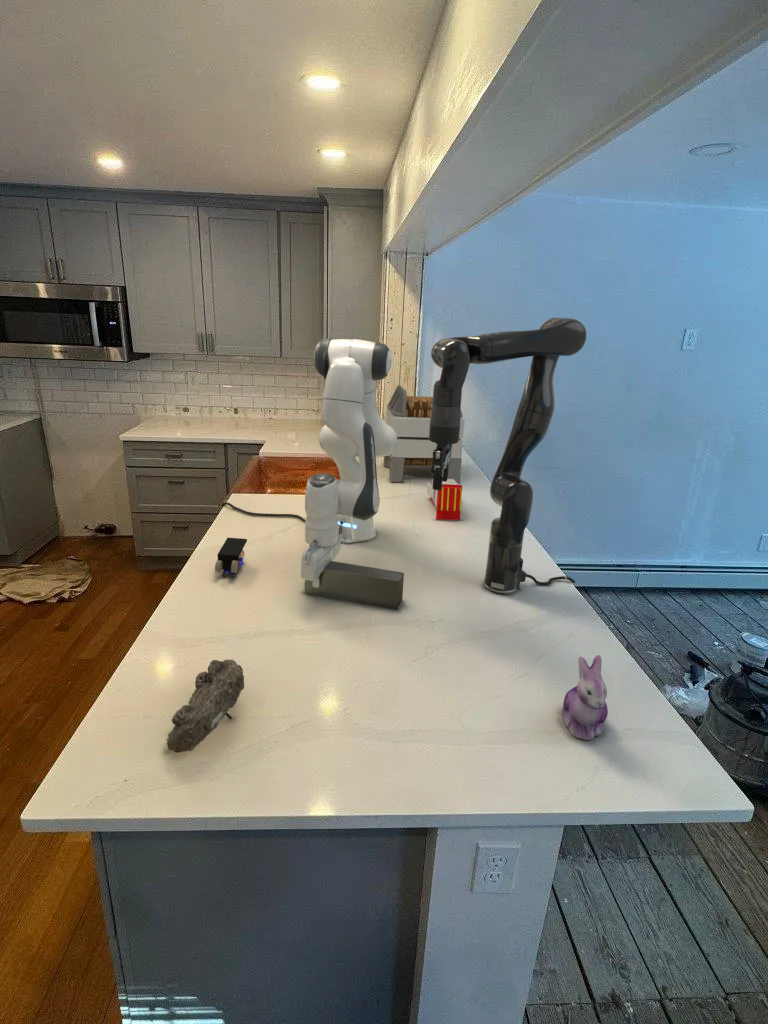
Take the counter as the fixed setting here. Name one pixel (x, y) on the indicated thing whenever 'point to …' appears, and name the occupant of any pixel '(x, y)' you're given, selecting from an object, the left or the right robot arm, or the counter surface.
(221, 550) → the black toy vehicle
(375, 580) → the bar
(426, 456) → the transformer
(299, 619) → the counter surface
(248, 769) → the counter surface
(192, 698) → the fossil
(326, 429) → the left robot arm
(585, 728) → the figurine
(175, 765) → the counter surface
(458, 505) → the toy
